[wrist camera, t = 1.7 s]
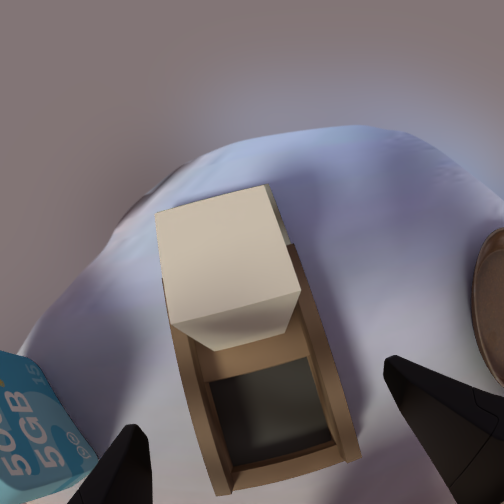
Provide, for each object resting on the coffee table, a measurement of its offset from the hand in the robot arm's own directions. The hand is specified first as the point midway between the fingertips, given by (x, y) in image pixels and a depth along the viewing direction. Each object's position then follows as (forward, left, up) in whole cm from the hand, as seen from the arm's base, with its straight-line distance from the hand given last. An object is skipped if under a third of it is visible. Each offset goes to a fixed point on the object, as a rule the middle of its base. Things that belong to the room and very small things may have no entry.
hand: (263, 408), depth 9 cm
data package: (+5, +19, -13) cm, 23 cm away
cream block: (+6, -2, -10) cm, 12 cm away
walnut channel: (+5, -1, -12) cm, 13 cm away
